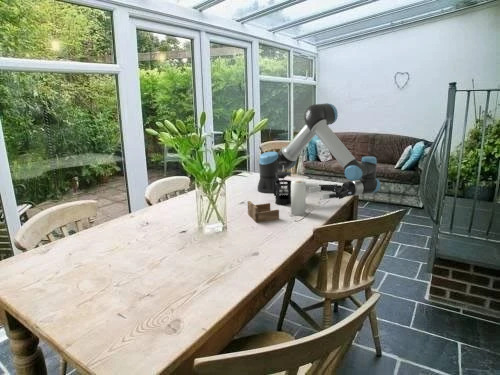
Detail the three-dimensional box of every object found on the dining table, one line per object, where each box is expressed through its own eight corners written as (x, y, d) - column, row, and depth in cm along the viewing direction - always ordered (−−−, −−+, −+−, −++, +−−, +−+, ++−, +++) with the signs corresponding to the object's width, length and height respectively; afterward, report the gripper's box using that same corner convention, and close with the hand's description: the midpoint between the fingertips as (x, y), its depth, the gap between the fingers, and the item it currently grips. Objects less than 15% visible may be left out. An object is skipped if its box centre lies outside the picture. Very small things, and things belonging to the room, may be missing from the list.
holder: (248, 214, 170) (247, 201, 168) (269, 211, 173) (269, 198, 171) (256, 222, 158) (255, 208, 156) (279, 219, 162) (278, 205, 160)
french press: (296, 202, 185) (296, 161, 179) (285, 206, 179) (284, 164, 173) (280, 198, 194) (280, 159, 188) (269, 202, 188) (268, 161, 182)
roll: (288, 211, 171) (288, 180, 167) (301, 210, 173) (301, 179, 169) (294, 216, 165) (294, 184, 161) (307, 214, 167) (308, 182, 163)
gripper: (366, 201, 165) (328, 207, 159) (338, 189, 188) (304, 194, 182) (367, 186, 163) (329, 192, 157) (338, 176, 186) (304, 180, 180)
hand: (315, 193), depth 169 cm, fingers open, 13 cm apart
